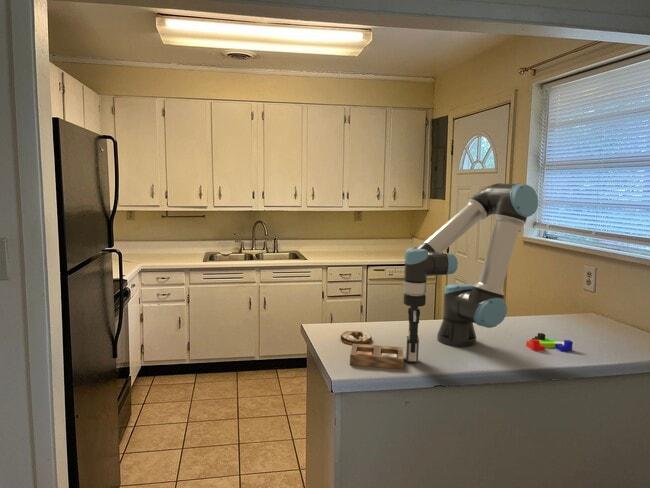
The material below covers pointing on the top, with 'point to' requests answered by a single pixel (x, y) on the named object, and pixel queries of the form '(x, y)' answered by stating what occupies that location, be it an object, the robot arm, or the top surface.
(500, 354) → the top surface
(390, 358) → the socket board
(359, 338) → the bagel
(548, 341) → the building blocks
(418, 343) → the plug
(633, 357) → the top surface
